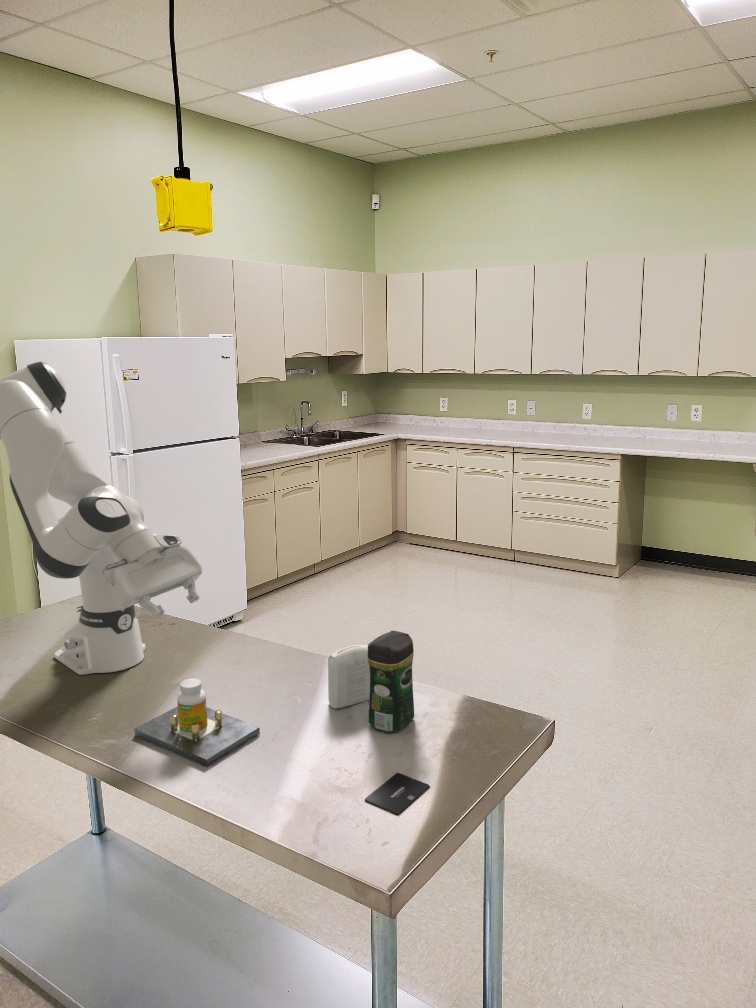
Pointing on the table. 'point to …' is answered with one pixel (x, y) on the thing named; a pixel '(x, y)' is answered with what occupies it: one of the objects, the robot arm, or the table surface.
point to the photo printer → (348, 676)
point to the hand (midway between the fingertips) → (178, 608)
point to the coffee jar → (391, 682)
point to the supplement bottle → (191, 706)
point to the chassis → (198, 735)
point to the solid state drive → (397, 793)
